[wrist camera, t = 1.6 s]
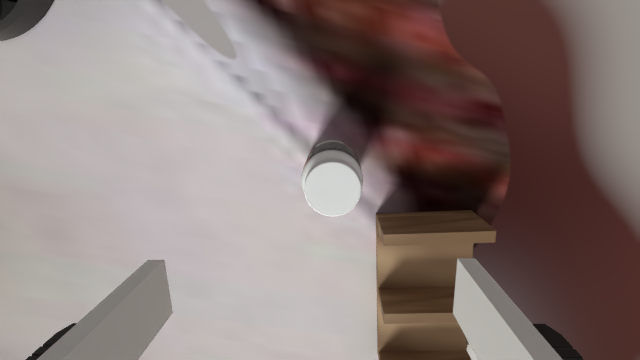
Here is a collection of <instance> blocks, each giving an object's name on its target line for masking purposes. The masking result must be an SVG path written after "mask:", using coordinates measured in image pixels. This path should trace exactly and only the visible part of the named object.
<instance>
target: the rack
mask: <svg viewBox="0 0 640 360" xmlns="http://www.w3.org/2000/svg"><path fill="white" fill-rule="evenodd" d="M495 238H496V231H495V230H494V229H493V228H492V227H491V226H490V225H488V224H487V223H486V222H485V221H484V220H482V219H481V218H480V217H479V216H478V215H476V214H475V213H474V212H473V211H472V210H460V211H432V212H405V213H377V214H376V257H377V339H378V357H379V360H471V358H470V356H469V354H468V352H467V351H466V350H467V338H466V336H465V334H464V333H463V331H462V329H461V327H460V325H459V323H458V322H457V320H456V318H455V316H454V314H453V305H454V293H455V281H456V270H457V258H473V245H474V243H492V242H493V243H494V242H495Z"/></svg>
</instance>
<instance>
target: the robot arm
mask: <svg viewBox="0 0 640 360" xmlns="http://www.w3.org/2000/svg"><path fill="white" fill-rule="evenodd" d="M52 1H53V0H0V41H3V40H8V39H11V38H15V37H17V36H20V35H21V34H23V33H25V32H27V31H28V30H30V29H31V28H32V27H34V26H35V25H36V24H37V23H38V22H39V21H40V20H41V19H42V18H43V16H44V15H45V13H46V12H47V10H48V9H49V7H50V5H51V3H52ZM172 313H173V312H172V305H171V299H170V293H169V286H168V280H167V274H166V267H165V261H164V260H147V261H146V262H145V263H144V264H143V265H142V266H141V267H140V268H138V269H137V270H136V271H135V272H134V273H133V274H132V275H131V276H130V277H128V278H127V279H126V280H125V281H124V282H123V283H122V284H121V285H119V286H118V287H117V288H116V289H115V290H114V291H113V292H112V293H111V294H109V295H108V296H107V297H106V298H105V299H104V300H103V301H102V302H100V303H99V304H98V305H97V306H96V307H95V308H94V309H93V310H92V311H90V312H89V313H88V314H87V315H86V316H85V317H84V318H83V319H81V320H80V321H79V322H78V323H73V324H71V325H69V326H68V327H66V328H64V329H63V330H61V331H59V332H57V333H56V334H55V335H54V336H52V337H51V338H50V339H49V340H48V341H47V342H45V343H44V344H43V347H40V348H38V349H37V350H36V351H35V352H34V353H33V354H32V356H29V357H28V358H27V359H26V360H138V359H139V358H140V356H141V355H142V353H143V352H144V351H145V349H146V348H147V347H148V345H149V344H150V343H151V341H152V340H153V339H154V337H155V336H156V334H157V333H158V332H159V330H160V329H161V328H162V326H163V325H164V324H165V322H166V321H167V320H168V318H169V317H170V315H171V314H172ZM453 314H454V316H455V318H456V320H457V322H458V323H459V325H460V327H461V329H462V331H463V333H464V334H465V336H466V338H467V340H468V342H469V344H470V345H471V347H472V349H473V351H474V353H475V355H476V356H477V358H478V360H583V358H582V356H581V355H580V354H579V353H578V352H577V351H576V350H575V349H573V347H572V346H571V345H570V343H569V342H568V341H567V340H566V339H565V338H564V337H563V336H562V335H561V334H559V333H558V332H556V331H555V330H553V329H552V328H550V327H549V326H547V325H545V324H532V323H531V322H530V321H529V320H528V319H527V318H526V317H525V315H524V314H523V313H522V312H521V311H520V310H519V308H518V307H517V306H516V305H515V304H514V303H513V301H512V300H511V299H510V298H509V297H508V296H507V294H505V292H504V291H503V290H502V289H501V288H500V286H499V285H498V284H497V283H496V282H495V281H494V279H493V278H492V277H491V276H490V275H489V274H488V272H487V271H486V270H485V269H484V268H483V267H482V266H481V264H480V263H479V262H478V261H477V260H476V259H475V258H457V270H456V281H455V293H454V305H453Z"/></svg>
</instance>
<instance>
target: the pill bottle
mask: <svg viewBox="0 0 640 360" xmlns="http://www.w3.org/2000/svg"><path fill="white" fill-rule="evenodd" d="M301 183H302V188H303V191H304V193H305V197H306V200H307V202H308V203H309V205H310V206H311V207H312V208H313V209H314V210H315V211H316V212H318V213H320V214H322V215H325V216H340V215H343V214H346V213H348V212H349V211H351V210H352V209H353V208H354V207H355V206H356V204H357V203H358V201H359V199H360V195H361V190H362V186H363V175H362V170H361V167H360V165H359V162H358V160H357V157H356V154H355V153H354V151H353V150H352V148H351V147H350V146H348V145H347V144H346V143H344V142H341V141H338V140H326V141H323V142H321V143H319V144H317V145H316V146H315V147H314V148H313V149H312V150H311V152H310V154H309V156H308V158H307V161H306V163H305V166H304V169H303V172H302V178H301Z"/></svg>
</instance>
